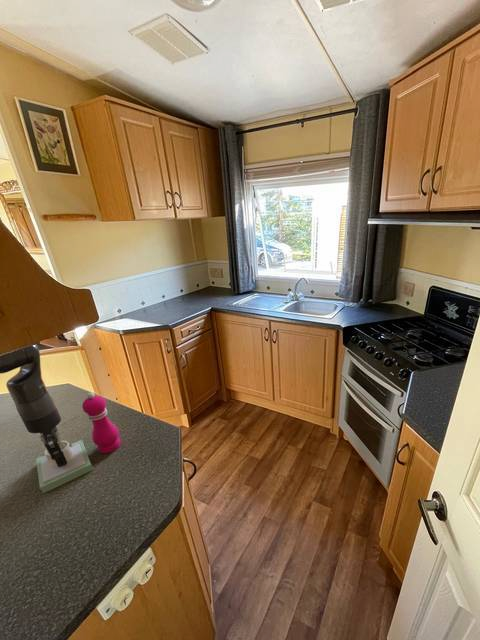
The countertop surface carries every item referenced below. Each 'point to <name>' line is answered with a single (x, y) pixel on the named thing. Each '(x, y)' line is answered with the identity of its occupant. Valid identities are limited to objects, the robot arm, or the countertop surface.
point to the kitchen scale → (63, 468)
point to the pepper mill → (101, 424)
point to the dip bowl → (65, 448)
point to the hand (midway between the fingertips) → (61, 458)
